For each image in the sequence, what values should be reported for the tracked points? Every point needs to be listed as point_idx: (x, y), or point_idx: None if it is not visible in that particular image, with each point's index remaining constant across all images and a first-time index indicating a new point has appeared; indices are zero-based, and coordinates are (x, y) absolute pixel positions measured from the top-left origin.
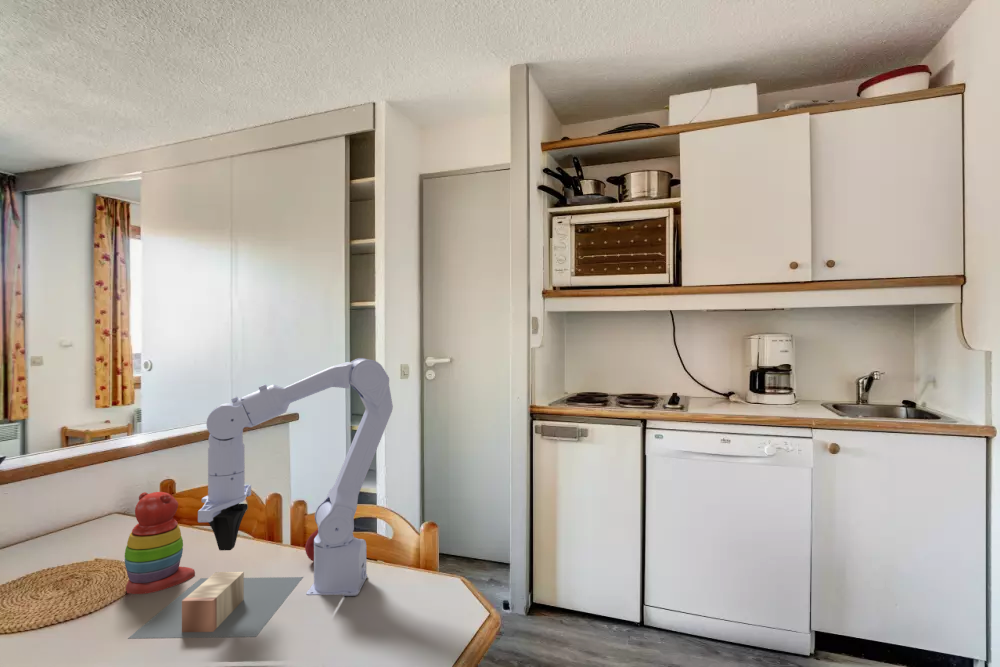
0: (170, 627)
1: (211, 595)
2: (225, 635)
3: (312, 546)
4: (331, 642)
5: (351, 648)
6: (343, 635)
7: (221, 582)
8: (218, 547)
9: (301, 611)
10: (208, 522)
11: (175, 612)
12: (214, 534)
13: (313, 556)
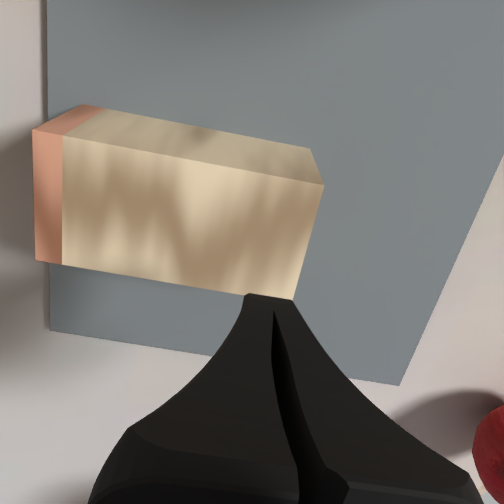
0: (120, 43)
1: (80, 239)
2: None
3: (502, 462)
4: (40, 466)
5: (17, 496)
6: (67, 483)
7: (200, 243)
8: (245, 300)
9: None
10: (155, 411)
11: (239, 12)
12: (221, 346)
13: (480, 434)
